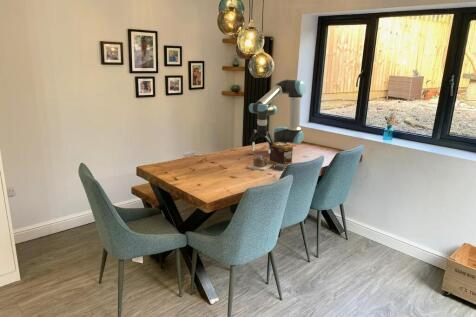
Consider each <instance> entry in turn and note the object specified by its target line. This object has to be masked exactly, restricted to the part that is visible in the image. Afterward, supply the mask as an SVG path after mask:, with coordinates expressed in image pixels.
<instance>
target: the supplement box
mask: <svg viewBox="0 0 476 317" xmlns="http://www.w3.org/2000/svg"><path fill="white" fill-rule="evenodd" d="M293 148H294V144H293V145H292V144H290V143H289V144H288V143H287V144H285V143H281V142H277V143H274V144H273V145H272V149H271V151H270V153H269V163H272V164H275V165H276V164H278V163H280V164H285V165H286V166H289V165H288V164H290V165H292V164H293V151H294V150H293ZM291 163H292V164H291Z"/></svg>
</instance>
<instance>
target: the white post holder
mask: <svg viewBox="0 0 476 317" xmlns="http://www.w3.org/2000/svg"><path fill="white" fill-rule="evenodd" d="M258 156H259V159H262V157H263V156H262V155H258ZM272 167H273V164H269V163H267V165H266V166H265V167H263V168H262V167H257V166H253V163H252V164H250V165H248V166H247V168H248V169H253V170H258V171H262V172H263V171H264V172H265V171H267V170H269V169H270V168H272Z"/></svg>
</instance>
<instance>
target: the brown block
mask: <svg viewBox="0 0 476 317" xmlns="http://www.w3.org/2000/svg"><path fill="white" fill-rule="evenodd" d="M259 156H260V155H257V156H255V157H253V163H252V164H253V166H257V167H262V168H263V167H265V166H266V165H267V164H268V157H265V156H262V159H259Z"/></svg>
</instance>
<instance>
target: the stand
mask: <svg viewBox="0 0 476 317" xmlns="http://www.w3.org/2000/svg"><path fill="white" fill-rule="evenodd" d="M273 167H274V168H273V169H274V170H277V171H282V172H284V169H285V167H286V168H287V165H285V164H280V163H278V164H275V165H274V166H273ZM285 170H286V169H285Z"/></svg>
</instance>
